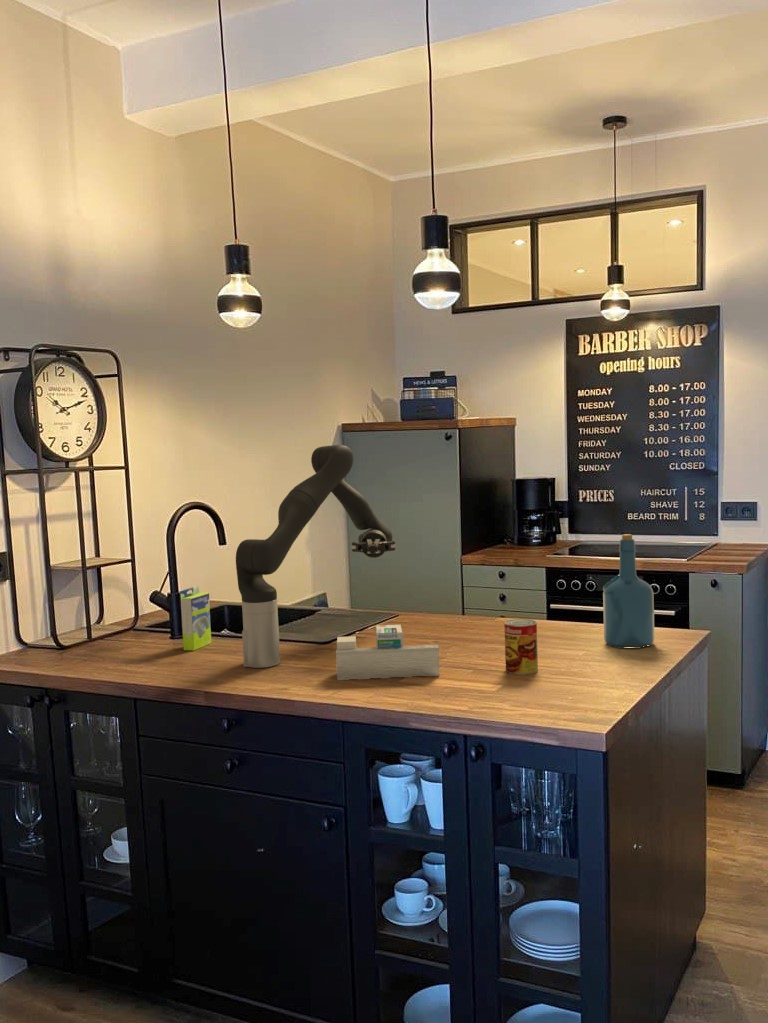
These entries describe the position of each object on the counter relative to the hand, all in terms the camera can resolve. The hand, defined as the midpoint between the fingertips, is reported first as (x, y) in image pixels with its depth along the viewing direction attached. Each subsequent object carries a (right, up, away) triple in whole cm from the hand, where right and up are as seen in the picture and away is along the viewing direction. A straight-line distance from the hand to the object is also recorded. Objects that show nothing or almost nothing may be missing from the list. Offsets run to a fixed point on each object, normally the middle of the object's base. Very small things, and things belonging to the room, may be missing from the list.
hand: (372, 549), depth 249 cm
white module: (-6, -30, -23) cm, 38 cm away
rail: (+4, -30, -24) cm, 39 cm away
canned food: (+37, -29, -25) cm, 53 cm away
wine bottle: (+70, -26, -2) cm, 74 cm away
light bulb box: (+5, -30, -20) cm, 36 cm away
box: (-51, -29, +16) cm, 62 cm away
